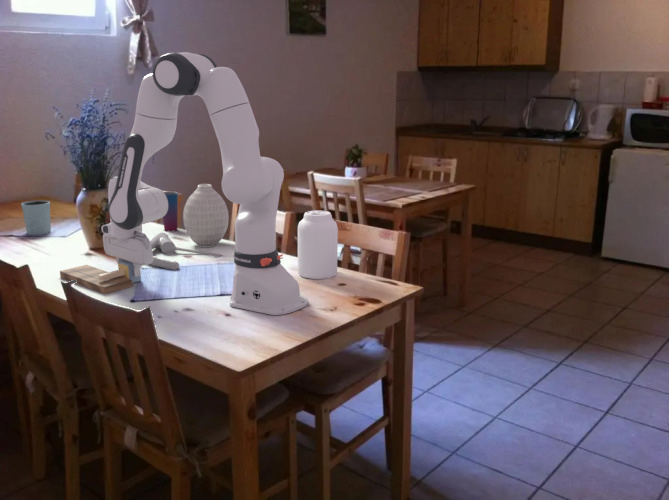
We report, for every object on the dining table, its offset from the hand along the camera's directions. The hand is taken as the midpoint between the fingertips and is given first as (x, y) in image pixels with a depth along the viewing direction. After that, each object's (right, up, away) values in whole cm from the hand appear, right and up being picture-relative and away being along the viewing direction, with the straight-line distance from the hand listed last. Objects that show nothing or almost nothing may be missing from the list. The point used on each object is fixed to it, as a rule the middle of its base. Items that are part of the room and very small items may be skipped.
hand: (129, 273), depth 194 cm
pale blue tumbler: (-54, +14, +58) cm, 80 cm away
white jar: (+56, -1, +10) cm, 57 cm away
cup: (-4, +15, +65) cm, 67 cm away
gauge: (-2, -3, -2) cm, 5 cm away
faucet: (+8, +4, +26) cm, 28 cm away
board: (-10, -2, -1) cm, 10 cm away
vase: (+15, +9, +43) cm, 47 cm away
